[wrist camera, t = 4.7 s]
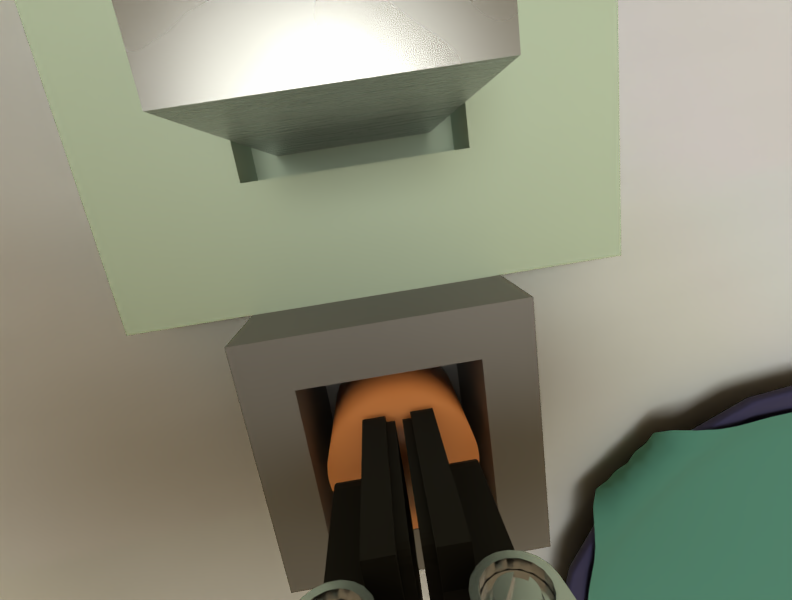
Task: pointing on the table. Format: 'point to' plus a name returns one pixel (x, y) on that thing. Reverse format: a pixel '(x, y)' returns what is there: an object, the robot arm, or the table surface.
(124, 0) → the seated billet
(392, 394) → the button
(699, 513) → the green-topped navy dish
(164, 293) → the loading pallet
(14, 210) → the table surface
